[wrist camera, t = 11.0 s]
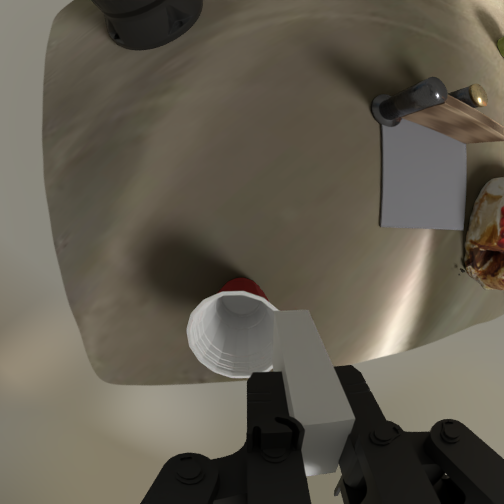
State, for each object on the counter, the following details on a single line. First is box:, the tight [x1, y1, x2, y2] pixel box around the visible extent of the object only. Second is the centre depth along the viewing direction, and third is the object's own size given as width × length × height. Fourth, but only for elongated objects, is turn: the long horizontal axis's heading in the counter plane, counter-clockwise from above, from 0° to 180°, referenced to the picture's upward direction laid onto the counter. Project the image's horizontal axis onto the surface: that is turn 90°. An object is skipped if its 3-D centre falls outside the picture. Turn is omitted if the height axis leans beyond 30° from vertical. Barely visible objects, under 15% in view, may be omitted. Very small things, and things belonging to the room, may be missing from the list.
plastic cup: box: [187, 278, 279, 378], centre depth 34 cm, size 11×11×12 cm
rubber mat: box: [380, 118, 466, 230], centre depth 36 cm, size 17×17×1 cm
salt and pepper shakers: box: [371, 77, 488, 127], centre depth 27 cm, size 7×14×13 cm, turn 90°
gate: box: [400, 95, 504, 144], centre depth 28 cm, size 14×1×11 cm, turn 83°
